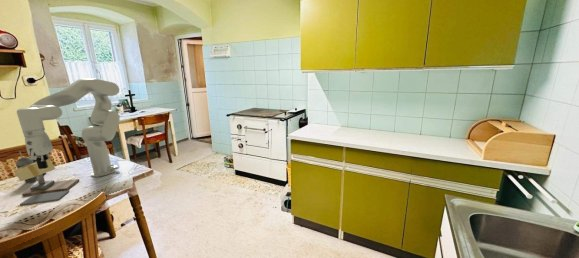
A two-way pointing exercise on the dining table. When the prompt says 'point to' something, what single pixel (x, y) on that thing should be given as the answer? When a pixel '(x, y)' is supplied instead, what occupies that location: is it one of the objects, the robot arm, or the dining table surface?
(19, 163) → the beverage cup
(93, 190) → the dining table surface
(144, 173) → the dining table surface
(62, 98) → the robot arm
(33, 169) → the beige block
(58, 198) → the mat
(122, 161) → the dining table surface
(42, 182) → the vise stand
